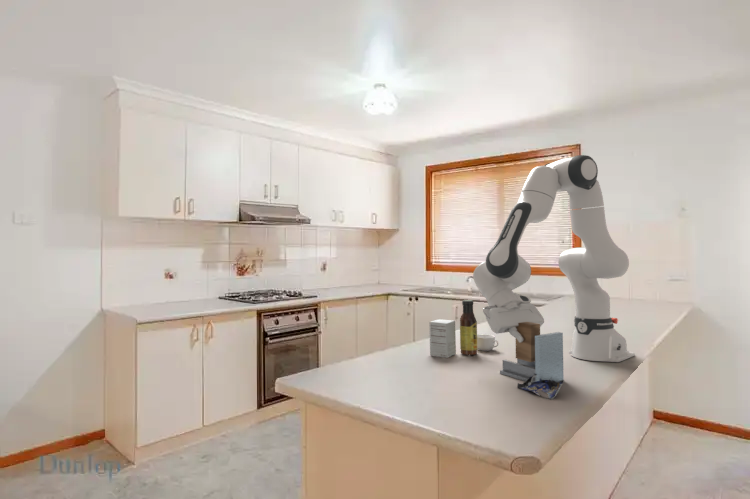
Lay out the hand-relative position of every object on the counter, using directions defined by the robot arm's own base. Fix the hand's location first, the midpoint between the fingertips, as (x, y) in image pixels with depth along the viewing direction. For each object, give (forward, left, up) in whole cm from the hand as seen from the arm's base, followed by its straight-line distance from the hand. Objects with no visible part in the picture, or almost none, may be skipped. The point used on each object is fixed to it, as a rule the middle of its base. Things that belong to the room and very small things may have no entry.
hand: (529, 340), depth 138 cm
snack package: (+9, +11, -12) cm, 19 cm away
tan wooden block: (0, -1, -6) cm, 6 cm away
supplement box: (+4, -38, -11) cm, 39 cm away
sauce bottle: (-5, -34, -11) cm, 36 cm away
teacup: (-15, -35, -11) cm, 39 cm away
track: (0, -1, -11) cm, 11 cm away
